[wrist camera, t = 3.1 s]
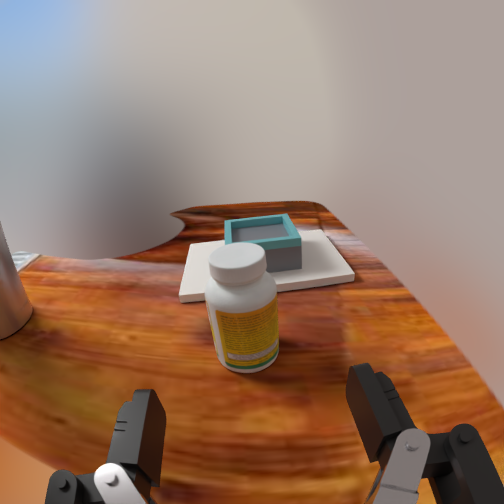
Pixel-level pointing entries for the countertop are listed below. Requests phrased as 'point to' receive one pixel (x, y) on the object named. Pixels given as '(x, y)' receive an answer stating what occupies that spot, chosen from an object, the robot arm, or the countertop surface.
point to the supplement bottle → (242, 307)
